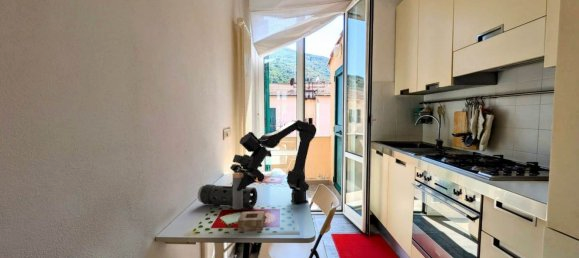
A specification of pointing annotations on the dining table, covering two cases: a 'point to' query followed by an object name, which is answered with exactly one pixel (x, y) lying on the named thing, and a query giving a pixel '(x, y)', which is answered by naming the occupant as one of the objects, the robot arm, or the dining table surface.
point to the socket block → (251, 221)
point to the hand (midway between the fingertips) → (234, 189)
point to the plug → (237, 194)
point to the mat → (231, 218)
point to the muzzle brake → (225, 196)
